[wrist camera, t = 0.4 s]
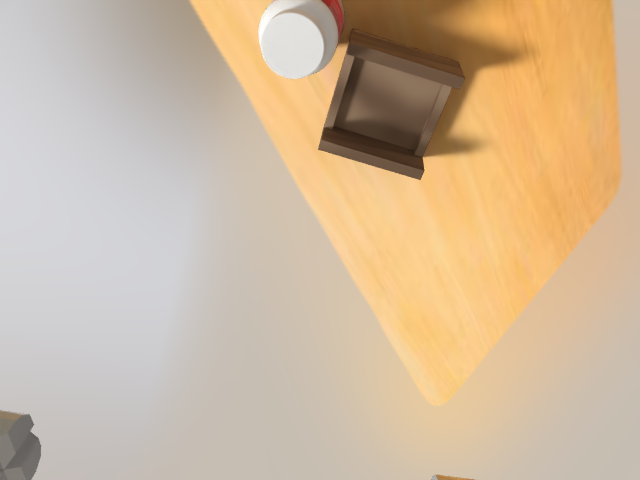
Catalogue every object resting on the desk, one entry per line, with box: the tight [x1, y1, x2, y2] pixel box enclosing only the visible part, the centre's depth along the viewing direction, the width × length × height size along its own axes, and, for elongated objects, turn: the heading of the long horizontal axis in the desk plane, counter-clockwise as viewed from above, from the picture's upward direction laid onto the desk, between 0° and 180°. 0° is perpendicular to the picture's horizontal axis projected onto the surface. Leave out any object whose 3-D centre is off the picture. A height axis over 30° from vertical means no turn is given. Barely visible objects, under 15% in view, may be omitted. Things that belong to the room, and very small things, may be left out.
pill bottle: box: [259, 0, 344, 79], centre depth 43 cm, size 6×6×11 cm
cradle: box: [318, 29, 465, 180], centre depth 49 cm, size 10×10×5 cm
